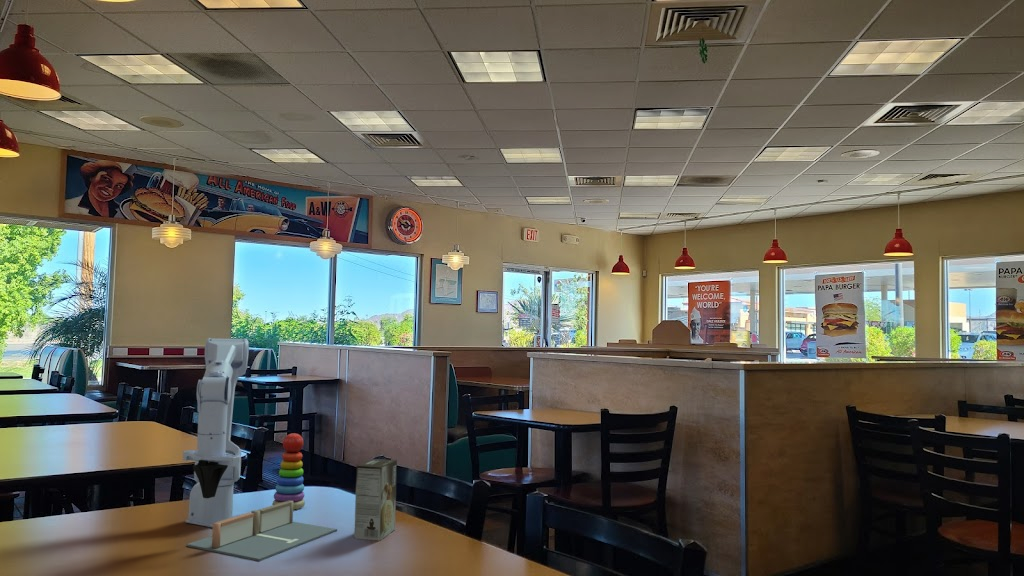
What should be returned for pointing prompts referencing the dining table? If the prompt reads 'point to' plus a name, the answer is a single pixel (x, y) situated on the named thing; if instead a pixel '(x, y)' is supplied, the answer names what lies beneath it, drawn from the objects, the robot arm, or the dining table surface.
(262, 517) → the fence fixed
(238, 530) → the hinged fence panel
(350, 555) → the dining table surface
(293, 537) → the mat
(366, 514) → the coffee box
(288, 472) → the stacking toy
